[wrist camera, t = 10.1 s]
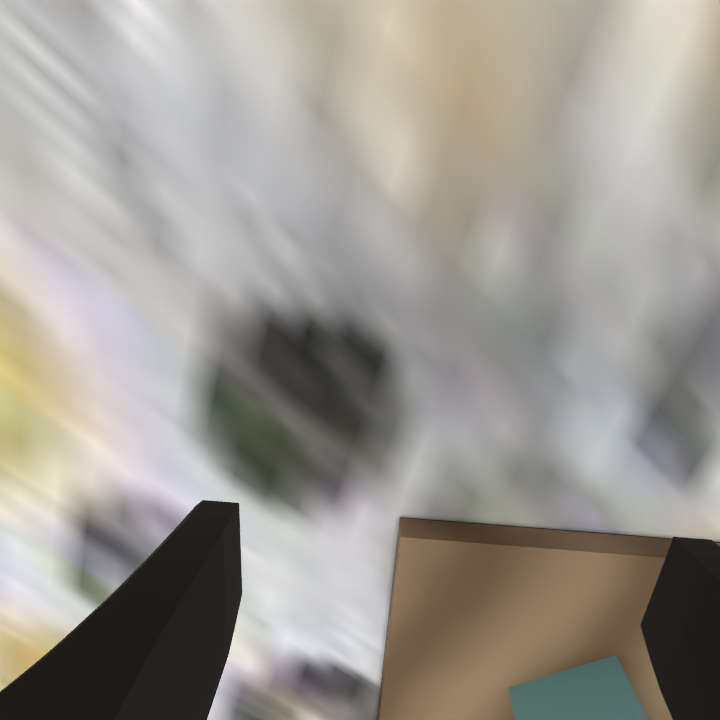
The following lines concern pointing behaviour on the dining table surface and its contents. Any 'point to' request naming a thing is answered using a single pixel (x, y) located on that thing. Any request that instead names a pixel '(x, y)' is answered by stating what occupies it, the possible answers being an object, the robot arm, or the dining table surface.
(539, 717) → the teal square sleeve
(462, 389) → the dining table surface
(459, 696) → the shaft base
